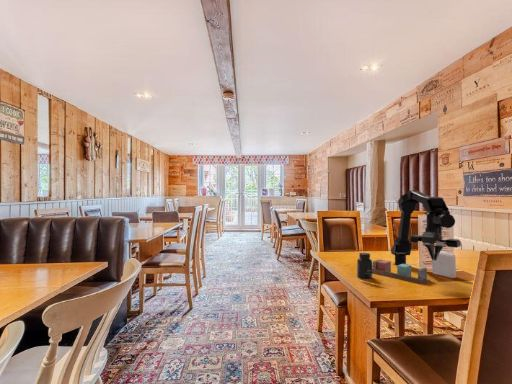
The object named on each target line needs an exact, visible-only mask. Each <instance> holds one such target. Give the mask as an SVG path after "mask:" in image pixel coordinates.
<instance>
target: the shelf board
mask: <svg viewBox="0 0 512 384" xmlns="http://www.w3.org/2000/svg"><path fill="white" fill-rule="evenodd" d="M382 260H383V259H380V258H379V259H376V260H372V263H373V267H372V274H376V275H380V276H385V277H389V278H392V279H393V278H394V279H398V280H403V281H405V282H410V283H411V282H412V283H415V284H419V285H423V284H424V283H423V279H419V278H418V277H414V276H411V277H410V276H405V275H401V274H397V273H395V272H392V271H391V272H387V271H382V270H378V269H377V262H378V261H382Z"/></svg>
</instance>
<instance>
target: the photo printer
mask: <svg viewBox="0 0 512 384" xmlns="http://www.w3.org/2000/svg"><path fill="white" fill-rule="evenodd" d="M434 254H435V250H434ZM456 259H457V257H456V255H455V254H453V253H451V252H449V251H445V250H441V251H440V253H439V255H438V258H437V260H436V261H435V260H432V259H431V268H432V269H431V270H432V274H435V275H438V276H442V277H446V278H449V279H450V278H451V279H456V277H457V267H456V266H457V265H456V264H457V263H456V262H457V261H456Z"/></svg>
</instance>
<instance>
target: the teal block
mask: <svg viewBox="0 0 512 384" xmlns="http://www.w3.org/2000/svg"><path fill="white" fill-rule="evenodd" d="M407 264H408V263H406V264H400V265H396V269H397V270H396V272H397V273H396V274H401V275H405V276H410V277H412V264H408V265H407Z"/></svg>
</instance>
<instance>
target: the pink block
mask: <svg viewBox="0 0 512 384" xmlns="http://www.w3.org/2000/svg"><path fill="white" fill-rule="evenodd" d="M391 265H392V261H390V260H385V259H382V261H378V262H377V269H378V270H382V271H387V272H391V273H392V266H391Z"/></svg>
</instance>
